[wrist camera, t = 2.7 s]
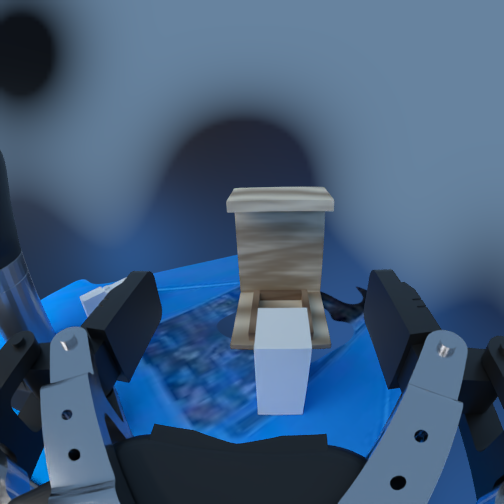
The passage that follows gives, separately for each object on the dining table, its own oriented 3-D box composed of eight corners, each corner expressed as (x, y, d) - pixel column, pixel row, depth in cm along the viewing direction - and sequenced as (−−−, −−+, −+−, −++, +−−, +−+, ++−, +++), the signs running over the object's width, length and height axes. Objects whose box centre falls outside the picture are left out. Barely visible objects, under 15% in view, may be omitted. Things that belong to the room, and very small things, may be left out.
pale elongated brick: (302, 414, 28) (312, 348, 23) (258, 414, 28) (253, 348, 23) (300, 374, 33) (306, 305, 29) (261, 374, 34) (258, 306, 29)
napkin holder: (154, 291, 54) (148, 265, 52) (148, 326, 44) (140, 298, 41) (88, 298, 52) (80, 274, 49) (72, 332, 41) (61, 306, 39)
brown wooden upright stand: (330, 348, 37) (346, 217, 29) (230, 348, 38) (215, 218, 30) (318, 290, 51) (324, 187, 43) (242, 291, 52) (234, 188, 44)
